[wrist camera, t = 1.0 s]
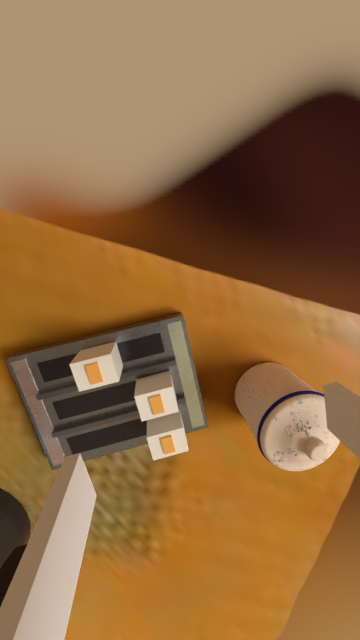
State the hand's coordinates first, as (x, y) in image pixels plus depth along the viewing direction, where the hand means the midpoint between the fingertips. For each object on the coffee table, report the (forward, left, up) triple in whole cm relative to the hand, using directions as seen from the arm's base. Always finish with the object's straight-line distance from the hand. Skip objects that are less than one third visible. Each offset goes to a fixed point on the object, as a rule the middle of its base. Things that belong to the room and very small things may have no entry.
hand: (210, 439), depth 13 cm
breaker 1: (-9, 0, -16) cm, 19 cm away
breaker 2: (-4, -5, -16) cm, 17 cm away
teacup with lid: (+11, -11, -19) cm, 25 cm away
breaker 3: (-4, -10, -16) cm, 19 cm away
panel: (-9, -5, -19) cm, 21 cm away
